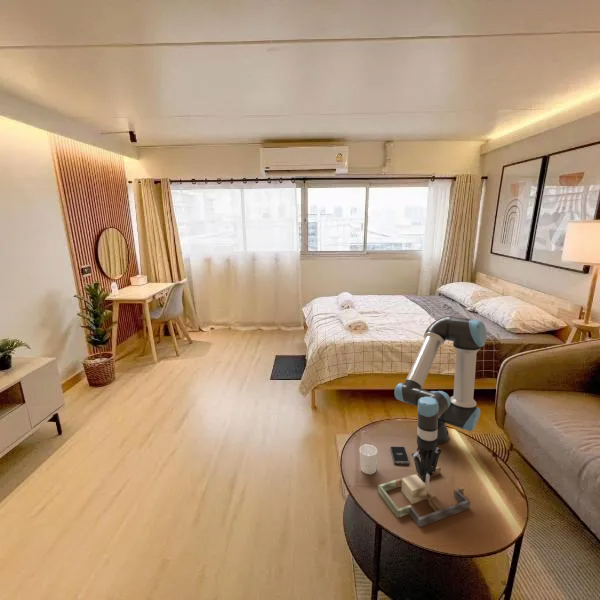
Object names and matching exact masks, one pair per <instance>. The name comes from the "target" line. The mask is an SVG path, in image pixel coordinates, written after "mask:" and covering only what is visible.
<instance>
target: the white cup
mask: <svg viewBox="0 0 600 600" xmlns="http://www.w3.org/2000/svg"><path fill="white" fill-rule="evenodd" d="M359 460H360V461H359V462H360V469H361V472H363V474H365V475H373V474H374V473H376V471H377V465H378V464H377V462H378V449H377V447H376V446H374V445H373V444H363V445H360V447H359Z"/></svg>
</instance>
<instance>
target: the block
mask: <svg viewBox="0 0 600 600" xmlns="http://www.w3.org/2000/svg"><path fill="white" fill-rule="evenodd" d="M411 475H412V474H411ZM408 476H409V475H408ZM404 477H405V478H403V477H401V478H402V486H401V493H402V494H403V495H404V496H405V498H407V500H408V501H409V502H410V503H411V505H413V504H417V503H420V502H423V501H426V500H427V499H428V490H427V485H426V484H425V483H424V482H423V481H422V480H421V479H420V478H419V477H418V476H417V475H412V476H409V477H406V476H404Z"/></svg>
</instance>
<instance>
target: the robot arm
mask: <svg viewBox="0 0 600 600" xmlns="http://www.w3.org/2000/svg"><path fill="white" fill-rule="evenodd" d="M423 338H424V339H423V342H422V344H421V346H420V348H419V350H418V353H417V354H416V356H415V359H414V361H413V363H412V365H411V368H410V370H409V372H408V374H407V377H406V379H405V381H404V383H403V382H402V383H401V382H399V383H398V384H397V385H396V386H395V388H394V397H395V399H396V400H397V401H401V402H403V403H406V404H410V405H412V406H415V407H417V421H416V422H417V423H416V424H417V425H416V429H417V430H416V434H417V435H416V444H417V448H416V452H413V453H412V454H411V457H412V458H413V461H414V466H415V471H416V473H418V474H419V475H420V476H421V480H422V481H423V482H424V483H425V484H426V485H427V491H429V490H430V481H431V480H432V477H433V476H432V475H433V474H432V472H435V470H436V467H438V462H439V458H440V454H441V453H442V449H441V448H439V446H438V444H440V445H441V444H444V443H446V442H448V441H449V438H450V437H449V435H450V434H449V431H448V427H447V424H448V425H451V426H453V427H456V428H459V429H461V430H466V431H468V432H473V431H474V429H475V428H476V427H477V425H478V424H479V423H478V422H479V420H480V417H481V412H482V411H481V408H479V407H477V401H476V400H475V399H474V394H475V393H474V392H475V381H476V380H475V379H476V366H477V353H478V352H479V351H480V350H481V348H482V347H484V346H485V345H486V342H487V328H486V325H485V323H484V322H483V321H481V320H477V319H473V318H468V317H467V318H466V317H457V316H449V315H445V316H443V317H440V318H438V319H436V320H434V321H433V322H432V323H431V324H430V325H429V326H428V327H427V328H426V330H425V332H424V334H423ZM446 341H449V342H452V346H453V348H454V349H455V350H456V351H455V364H454V365H455V366H454V382H453V395H452V396H449V394H448V393H447V392H446V391H445V392H444V391H443V390H438V391H436V390H435V391H434V390H431V391H428V390H425V389H423V386H424V384H425V382H426V379H427V377H428V374H429V372H430V371H431V368H432V365H433V364H434V361H435V358H436V357H437V354H438V351H439V349H440V347H441V346H442V345H444V344H445V342H446Z"/></svg>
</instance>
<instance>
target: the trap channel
mask: <svg viewBox="0 0 600 600" xmlns="http://www.w3.org/2000/svg"><path fill="white" fill-rule="evenodd" d="M441 468H442V467H441V466H440V465H437V466H436V470H435V472H432V474H433V475H432V476H431V477H434V476H436V475H441V473H442V472H441V470H442V469H441ZM412 475H417V476H418V477H419V478H420V479H421V476H420V475H419V474H418V473H417V472H416V473H413V474H409V475H407V476H402V477H400V478H397V479H393V480H391V481H388V482H384V483H381V484H378V485H377V492H378V494H379V495H380V496H381V497H382V499H383V501H384V502H385V503H386V505H387V506H388V507H389V508H390V510H391V511H392V512H393V514H394V513H395V514H394V515H395V516H396V518H397V517H398V518H397V519H400V518H402V516H403V517H405V515H406V516H407V515H409V516H410V517H411V518H412V520H413V521H414V522H415V523H416V525H417V526H418V527H419V528H421V527H424V526H427V525H429V524H432V523H434V522H437V521H440V520H443V519H445V518H447V517H450V516H453V515H456V514H458V513H461V512H463V511H467V510H469V509H470V507H471V506H470V505H471V504H470V503H471V501H470V500H469V499H467V497H466V496H464V495H465V494H464V492H465V488H464V487H463V486H460V487H457V488H454V489H453V497H454V498H455V499H456V500H457V501H458V503H455V504H452V505H450V506H446V505H445V504H444V503H443V502H442V501H441V500H440V499H439V498H438V496H437V495H434V496H431V497H429V498H428V500H429V501H428V506H430V507H431V509H432V510H433V512H431V513H426V514H425V515H422V516H420V515H419V514H418V513H417V512H416V510H415V509H414V508H413V507H412V504H408V505H405V506H402V507H398V505H397V504H396V502H394V501H393V500H392V498H391V497H390V495H389V494H388V492H387V491H390V490H394V489H397V488H400V487H402V478H405V477H409V476H412ZM399 517H400V518H399Z"/></svg>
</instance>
